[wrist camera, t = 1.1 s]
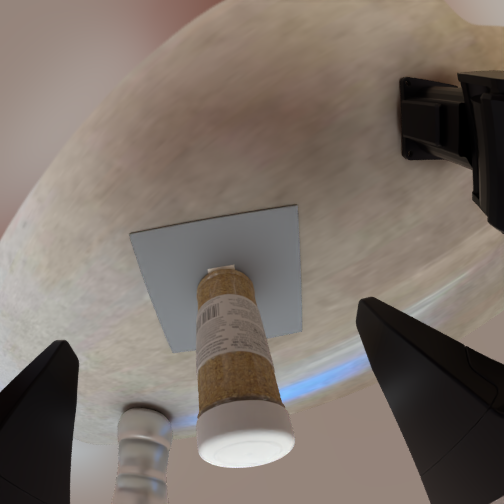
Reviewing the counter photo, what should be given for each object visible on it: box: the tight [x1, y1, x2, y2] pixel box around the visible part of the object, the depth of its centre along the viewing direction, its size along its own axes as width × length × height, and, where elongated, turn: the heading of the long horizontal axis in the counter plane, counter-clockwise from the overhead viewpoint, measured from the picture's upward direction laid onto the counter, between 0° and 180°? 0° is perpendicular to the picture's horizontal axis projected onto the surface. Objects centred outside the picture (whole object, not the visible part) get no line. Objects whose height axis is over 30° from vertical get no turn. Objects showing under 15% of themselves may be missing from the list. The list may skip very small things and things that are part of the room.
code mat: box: [129, 205, 302, 353], centre depth 23 cm, size 12×12×1 cm
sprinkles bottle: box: [196, 269, 295, 468], centre depth 17 cm, size 5×5×13 cm
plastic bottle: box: [111, 408, 173, 504], centre depth 22 cm, size 6×7×20 cm
